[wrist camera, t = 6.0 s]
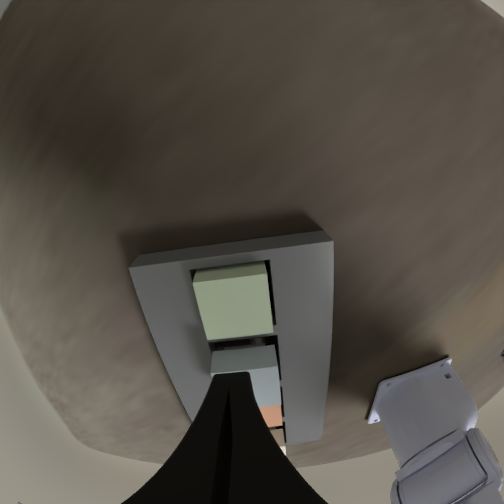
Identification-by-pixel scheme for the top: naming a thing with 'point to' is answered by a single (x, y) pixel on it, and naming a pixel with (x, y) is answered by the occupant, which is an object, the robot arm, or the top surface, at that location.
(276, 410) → the key terracotta
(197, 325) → the grey slotted tray
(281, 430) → the key ivory
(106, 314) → the top surface
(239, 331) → the key sage
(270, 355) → the key slate
